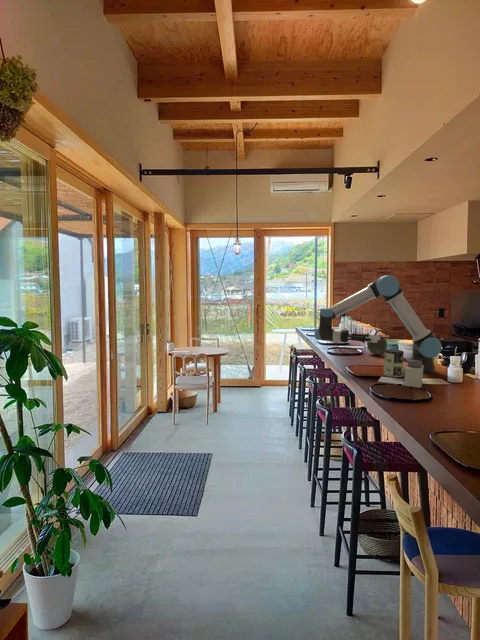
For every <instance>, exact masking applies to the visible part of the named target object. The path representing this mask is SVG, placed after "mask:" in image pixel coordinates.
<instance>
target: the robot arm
mask: <svg viewBox="0 0 480 640" xmlns="http://www.w3.org/2000/svg"><path fill="white" fill-rule="evenodd" d="M380 297H381V298H382V299H383V300H384V302H385V303H387V304H389V305H390V306H391V307H392V309H393V310H394V312H395V313H396V315H397V316H398V318H399V319H400V321H401V322H402V323H403V325H404V327H405V328H406V330H407V331H408V333H410V335H411V336H412V340H411V341H412V352H411V353H412V355H411V359H410V360H419V361H422V365H424V366H423V374H424V373H426V374H429V373H436V366H435V363H434V358H436V357H438V355H440V354H441V352H442V349H443V348H442V347H443V346H442V343H441V341H440V340H439V339H437V338H436V335H435V333H433V332H432V330H430V329H427V328H426V327H425V325H424V324H423V322H422V320H421V319H420V318H419V316H418V315H417V313H416V312H415V311H414V309H413V307H412V306H411V305H410V303H409V302H408V300H407V299H406V297H405V296H404V289H402V287H401V285H400V282H399V281H398V279H397V278H396V277H395V276H393V275H390V274H386V275H385V274H384V275H381V276H378V278H377V279H375V280H373V281H372V282H371V283H369V284H368V285H367V287H365V288H363V289H362V290H359V291H357V292H356V293H354V294H352V295H350V296H348V297H346V298H345V299H343V300H341V301H339V302H337V303H335V304H333V305H331V306H330V307H321V308H320V311H319V326H318V327H316V328H315V329H314V339H315V340H318V341H321V342H322V341H323V342H324V341H325V342H335V343H349V341H353V342H354V341H355V342H361V343H362V344H363V343H364V344H366V343H367V342H374V343H377V340H380V336H379V335H380V334H370V333H354V332H352V333H350V330H349V329H340V328H333V320H335V319H336V318H338V317H340V316H342V315H344V314H345V313H348V312H349V311H351V310H353V309H355V308H357V307H359V306H361V305H363V304H365V303H367V302H369V301H370V300H372V299H374V300H375V299H378V298H380ZM365 342H366V343H365Z"/></svg>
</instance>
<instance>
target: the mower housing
mask: <svg viewBox="0 0 480 640" xmlns="http://www.w3.org/2000/svg"><path fill="white" fill-rule="evenodd" d="M423 366H424V365H422V361H419V360H411V359H408V360H407V364H406V366H405V368H404V371H403V372H404V373H403V378H399V377H390V376H380V378H379V379H378V381H377V382H378V383H381V384H390V385H398V384H401V385H400V386H404V387H410V386H411V387H412V388H419V389H421V388H422V385H423V377H424V372H423Z"/></svg>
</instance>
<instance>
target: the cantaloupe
mask: <svg viewBox="0 0 480 640" xmlns="http://www.w3.org/2000/svg"><path fill="white" fill-rule="evenodd" d="M378 335H379V336H380V340H377V343H374V342H366V347H367V349H368V351H369V352H370V353H371V354H373V355H374V356H381V355H385V350H387V349H388V341H387V339H386V338H385V336H382V335H381V334H378Z"/></svg>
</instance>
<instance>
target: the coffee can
mask: <svg viewBox="0 0 480 640" xmlns="http://www.w3.org/2000/svg"><path fill="white" fill-rule="evenodd" d="M404 355H405V351H404V350H401V349H393V348H392V349H391V348H390V349H388V348H387V349H386V350H385V353H384V362H383V375H384V376H385V375H386V376H385V377H390V378H401V377H403V372H404V371H403V369H404V367H403V366H404Z"/></svg>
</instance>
